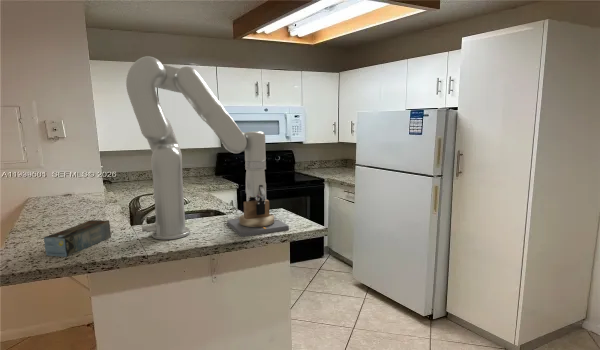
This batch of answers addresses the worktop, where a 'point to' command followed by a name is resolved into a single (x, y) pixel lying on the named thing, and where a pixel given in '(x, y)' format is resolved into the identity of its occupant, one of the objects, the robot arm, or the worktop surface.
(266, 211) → the dial
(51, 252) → the beverage carton
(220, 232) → the worktop surface
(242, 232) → the dial base
